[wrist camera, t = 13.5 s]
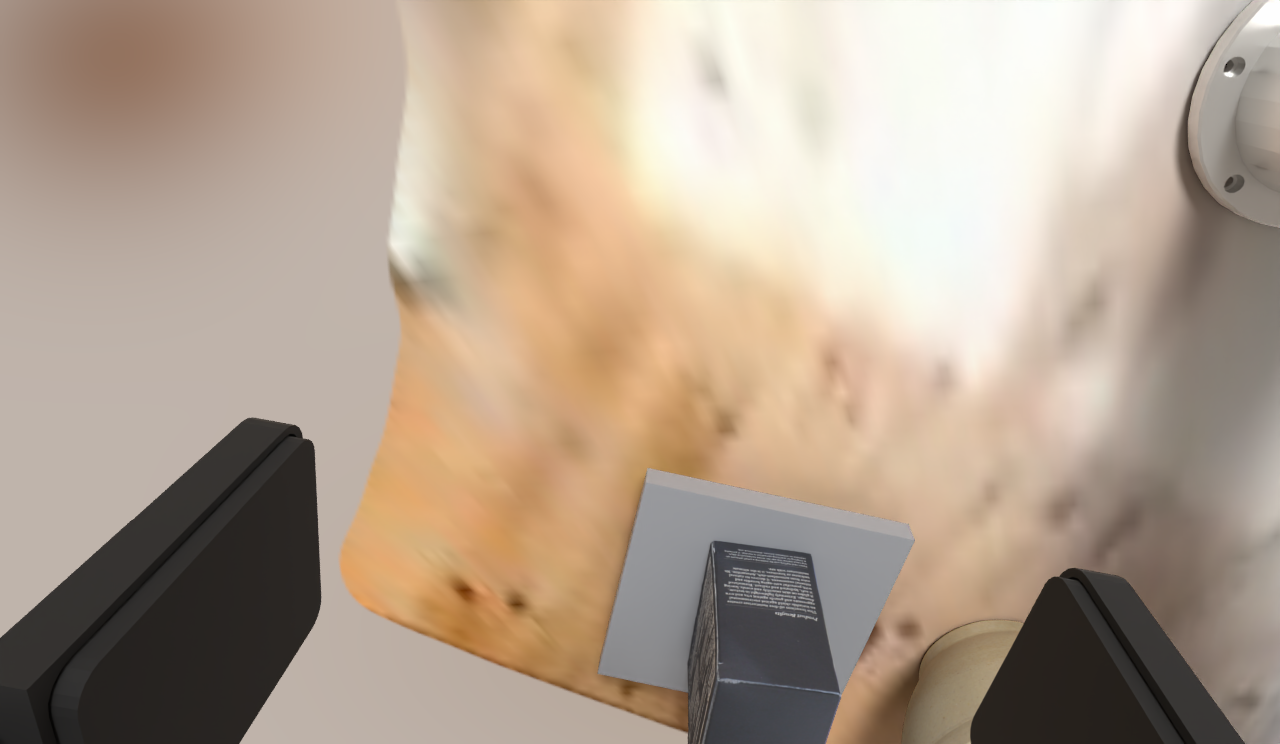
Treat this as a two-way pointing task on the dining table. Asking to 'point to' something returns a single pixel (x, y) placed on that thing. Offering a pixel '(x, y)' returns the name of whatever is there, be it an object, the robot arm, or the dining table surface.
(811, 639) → the small box
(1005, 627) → the planter bowl
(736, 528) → the stand
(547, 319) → the dining table surface
